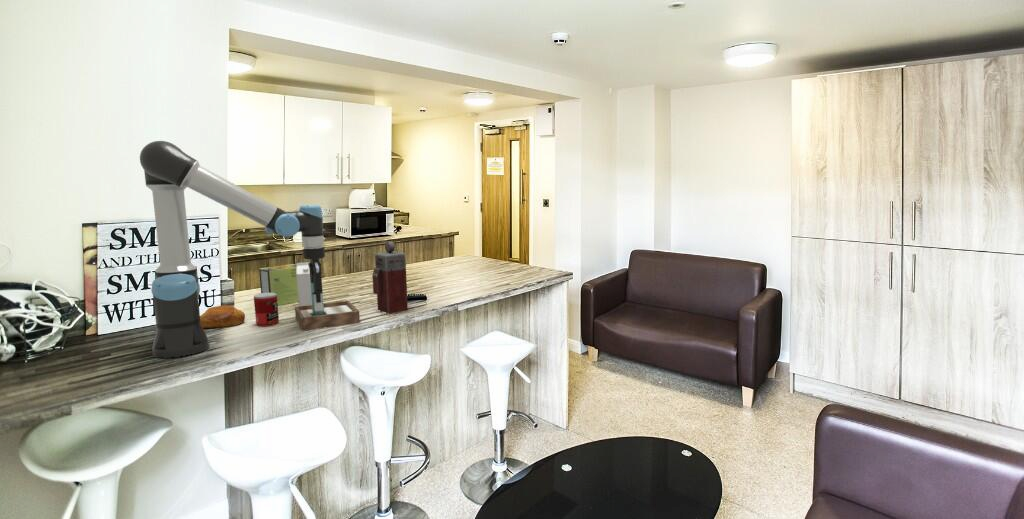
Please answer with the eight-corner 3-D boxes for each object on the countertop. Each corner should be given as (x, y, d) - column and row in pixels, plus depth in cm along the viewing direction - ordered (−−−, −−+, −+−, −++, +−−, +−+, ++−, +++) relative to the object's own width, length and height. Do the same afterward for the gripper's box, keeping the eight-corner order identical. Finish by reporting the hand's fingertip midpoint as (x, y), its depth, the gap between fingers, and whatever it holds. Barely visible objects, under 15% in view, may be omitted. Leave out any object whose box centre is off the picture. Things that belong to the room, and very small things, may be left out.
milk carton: (300, 306, 223) (297, 261, 220) (318, 304, 225) (315, 260, 222) (299, 310, 216) (295, 264, 213) (317, 308, 218) (314, 263, 215)
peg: (314, 322, 195) (311, 284, 193) (312, 319, 198) (309, 283, 196) (325, 320, 197) (322, 283, 195) (323, 318, 200) (321, 282, 198)
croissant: (241, 332, 192) (242, 311, 191) (193, 330, 188) (194, 309, 187) (248, 321, 206) (249, 301, 205) (203, 319, 201) (204, 299, 200)
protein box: (306, 300, 234) (304, 265, 231) (271, 306, 222) (268, 270, 220) (295, 297, 240) (293, 263, 238) (261, 303, 229) (258, 268, 227)
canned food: (270, 326, 191) (268, 297, 190) (251, 326, 193) (248, 296, 191) (283, 321, 199) (281, 292, 197) (264, 320, 200) (262, 292, 199)
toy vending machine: (372, 310, 213) (368, 242, 209) (396, 306, 220) (393, 239, 216) (383, 314, 206) (379, 243, 202) (408, 309, 214) (405, 241, 210)
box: (302, 330, 186) (301, 318, 185) (295, 318, 203) (294, 306, 202) (359, 322, 195) (359, 311, 194) (348, 311, 212) (348, 300, 212)
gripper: (328, 249, 188) (332, 313, 192) (320, 244, 202) (324, 303, 206) (305, 250, 184) (310, 315, 188) (299, 245, 199) (304, 306, 202)
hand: (317, 309), depth 197 cm, fingers closed on peg, 4 cm apart
